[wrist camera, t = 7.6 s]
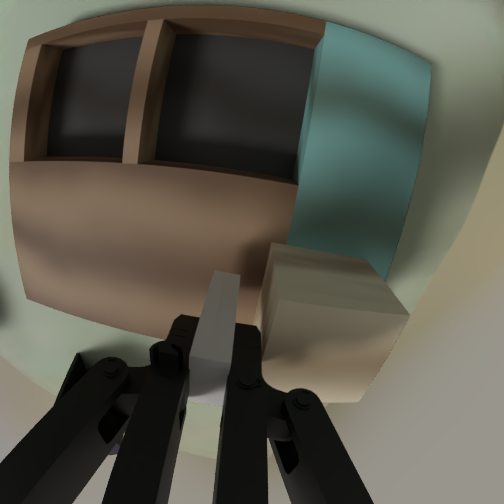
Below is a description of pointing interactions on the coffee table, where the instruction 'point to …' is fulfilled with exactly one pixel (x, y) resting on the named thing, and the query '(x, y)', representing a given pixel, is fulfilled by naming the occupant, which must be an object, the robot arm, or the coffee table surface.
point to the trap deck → (204, 155)
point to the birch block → (325, 322)
